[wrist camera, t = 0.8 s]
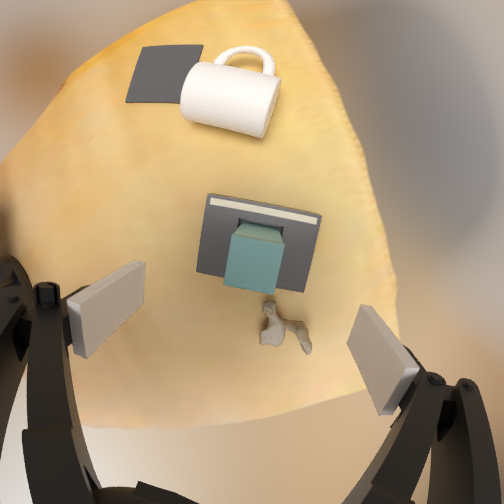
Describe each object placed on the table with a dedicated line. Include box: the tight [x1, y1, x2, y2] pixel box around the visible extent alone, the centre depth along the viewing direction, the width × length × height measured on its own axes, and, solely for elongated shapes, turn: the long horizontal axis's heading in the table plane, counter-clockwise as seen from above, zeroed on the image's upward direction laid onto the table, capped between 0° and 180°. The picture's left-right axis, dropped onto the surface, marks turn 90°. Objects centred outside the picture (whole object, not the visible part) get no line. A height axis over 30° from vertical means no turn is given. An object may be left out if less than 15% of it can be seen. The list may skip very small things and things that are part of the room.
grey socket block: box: [196, 193, 322, 293], centre depth 34 cm, size 14×10×3 cm
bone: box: [259, 301, 312, 355], centre depth 35 cm, size 9×6×10 cm
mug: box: [180, 46, 281, 138], centre depth 28 cm, size 12×10×8 cm
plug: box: [223, 221, 285, 295], centre depth 30 cm, size 5×5×12 cm
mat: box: [125, 45, 203, 103], centre depth 31 cm, size 10×10×1 cm
